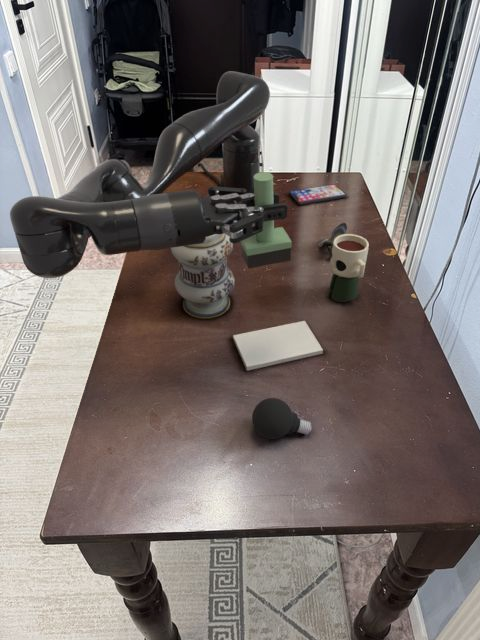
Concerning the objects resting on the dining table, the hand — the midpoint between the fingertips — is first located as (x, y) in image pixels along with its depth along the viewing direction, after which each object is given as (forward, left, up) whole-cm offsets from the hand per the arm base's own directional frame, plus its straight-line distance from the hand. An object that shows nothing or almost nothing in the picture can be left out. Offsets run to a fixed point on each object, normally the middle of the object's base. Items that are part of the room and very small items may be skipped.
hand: (281, 205), depth 74 cm
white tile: (0, +1, -29) cm, 29 cm away
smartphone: (-32, +57, -29) cm, 71 cm away
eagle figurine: (-12, +36, -29) cm, 48 cm away
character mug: (0, +23, -29) cm, 37 cm away
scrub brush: (-1, -2, -9) cm, 9 cm away
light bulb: (+13, -14, -29) cm, 35 cm away
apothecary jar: (-19, +1, -29) cm, 35 cm away
